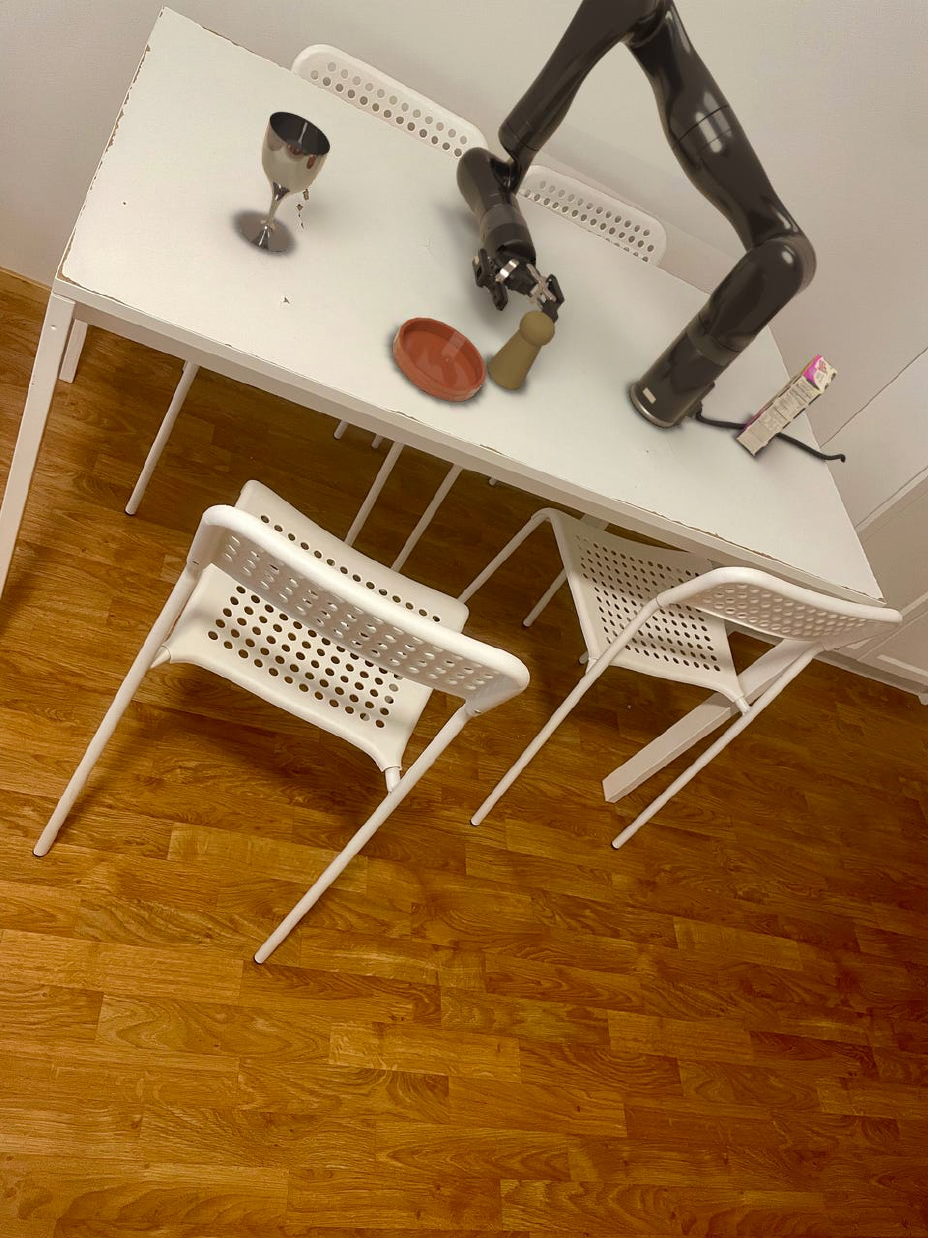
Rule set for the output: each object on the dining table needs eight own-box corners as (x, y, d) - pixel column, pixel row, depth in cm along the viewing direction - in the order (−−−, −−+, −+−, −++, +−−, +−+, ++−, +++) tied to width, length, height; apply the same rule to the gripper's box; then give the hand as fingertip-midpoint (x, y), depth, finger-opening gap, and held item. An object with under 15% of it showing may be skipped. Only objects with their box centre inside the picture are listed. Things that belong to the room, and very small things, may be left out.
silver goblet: (303, 246, 120) (342, 151, 109) (265, 258, 115) (301, 158, 104) (264, 208, 120) (299, 108, 109) (223, 218, 115) (255, 114, 104)
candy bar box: (751, 416, 159) (818, 352, 147) (770, 434, 159) (839, 372, 147) (733, 438, 151) (802, 372, 139) (753, 457, 151) (825, 393, 139)
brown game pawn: (517, 396, 126) (558, 341, 118) (483, 374, 125) (521, 317, 117) (525, 374, 130) (565, 320, 122) (492, 352, 129) (530, 296, 121)
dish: (469, 343, 127) (476, 332, 126) (485, 410, 121) (493, 400, 119) (387, 318, 121) (393, 306, 119) (399, 387, 114) (406, 376, 113)
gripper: (479, 206, 125) (499, 279, 117) (557, 237, 132) (582, 309, 124) (455, 248, 131) (473, 320, 123) (532, 276, 138) (554, 346, 130)
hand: (528, 314), depth 124 cm, fingers open, 8 cm apart
